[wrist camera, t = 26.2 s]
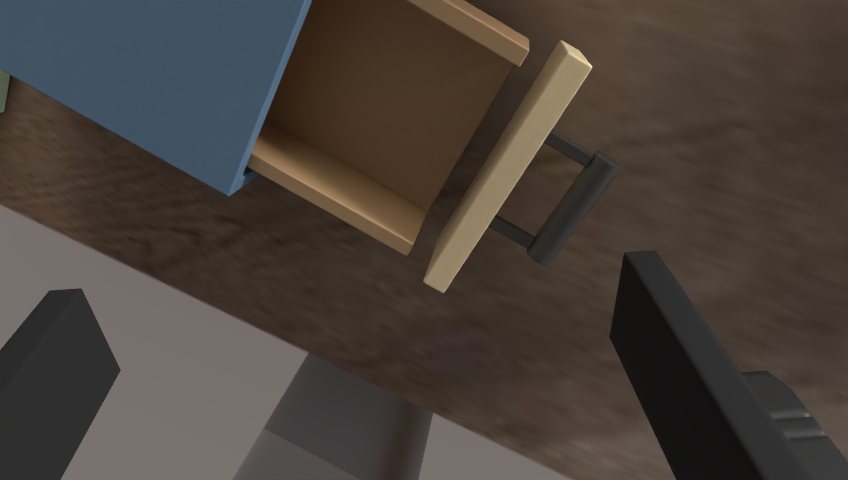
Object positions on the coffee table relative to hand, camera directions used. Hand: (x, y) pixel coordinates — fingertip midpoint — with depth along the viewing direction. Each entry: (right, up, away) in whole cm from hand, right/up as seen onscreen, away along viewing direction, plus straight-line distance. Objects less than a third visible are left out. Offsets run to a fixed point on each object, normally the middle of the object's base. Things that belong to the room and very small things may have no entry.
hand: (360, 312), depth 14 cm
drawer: (+2, +9, +16) cm, 18 cm away
